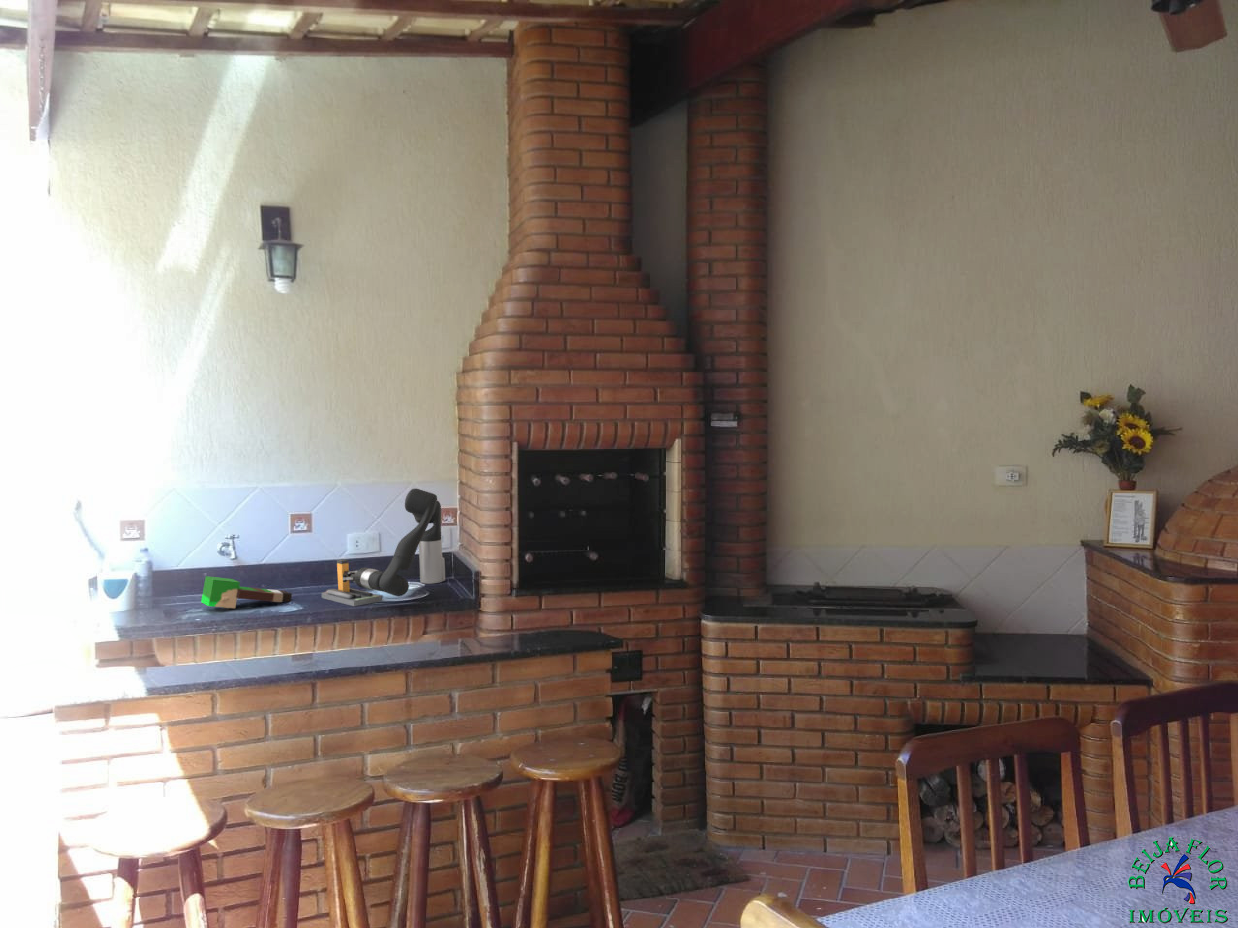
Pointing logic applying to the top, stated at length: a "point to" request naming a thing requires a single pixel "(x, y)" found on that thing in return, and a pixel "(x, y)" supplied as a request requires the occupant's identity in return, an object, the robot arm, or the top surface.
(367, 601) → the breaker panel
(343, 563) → the lever
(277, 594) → the toy
